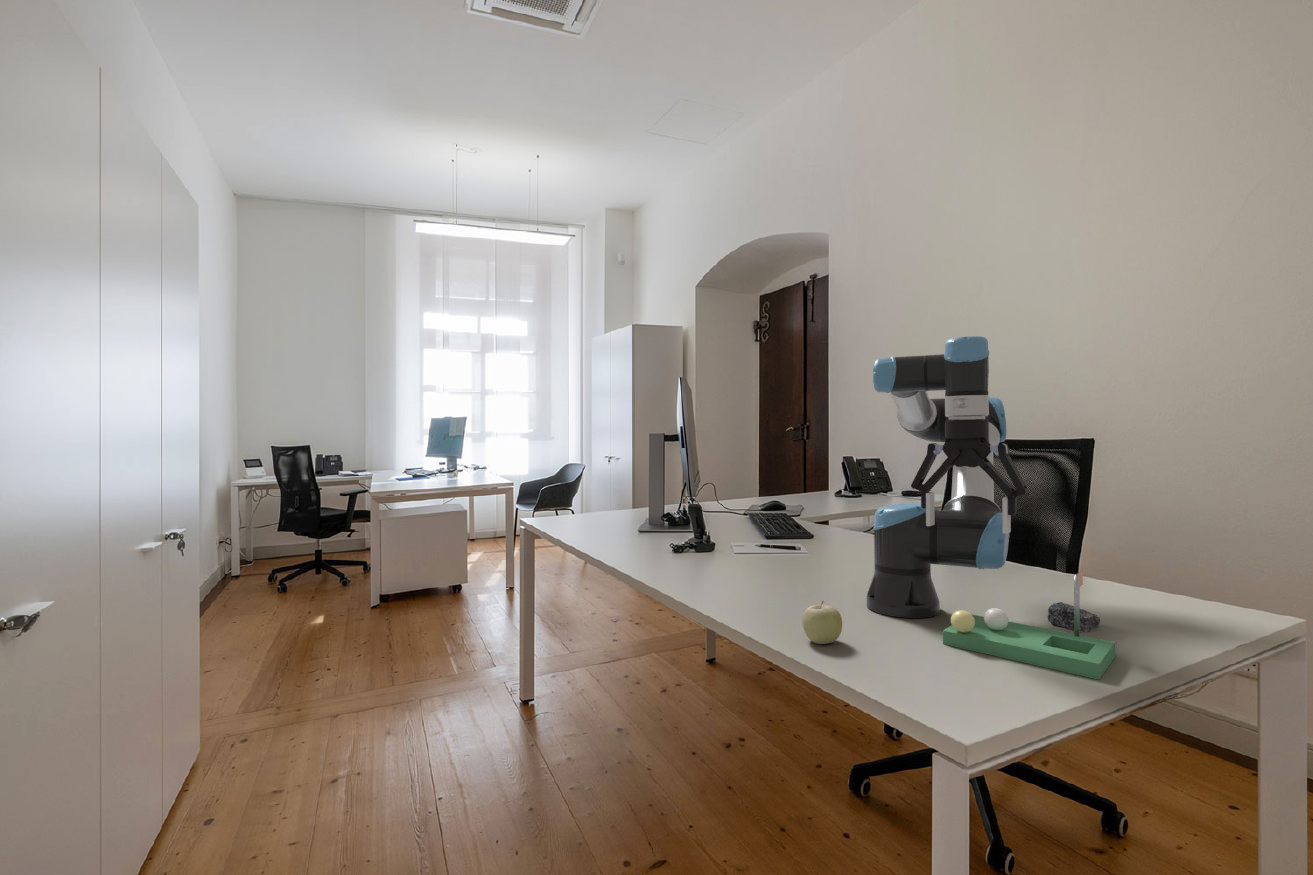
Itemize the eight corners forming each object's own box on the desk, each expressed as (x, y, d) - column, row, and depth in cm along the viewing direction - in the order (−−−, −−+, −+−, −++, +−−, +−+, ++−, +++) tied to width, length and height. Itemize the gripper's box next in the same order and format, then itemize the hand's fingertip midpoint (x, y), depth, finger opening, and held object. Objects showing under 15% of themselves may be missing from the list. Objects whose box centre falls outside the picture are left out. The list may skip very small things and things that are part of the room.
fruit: (849, 647, 115) (849, 603, 114) (812, 650, 113) (811, 606, 113) (831, 633, 122) (831, 593, 122) (795, 636, 121) (795, 595, 121)
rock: (1108, 625, 126) (1108, 604, 126) (1084, 634, 121) (1084, 612, 121) (1067, 615, 132) (1067, 596, 132) (1043, 624, 127) (1043, 603, 127)
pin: (1073, 635, 112) (1073, 574, 112) (1079, 630, 115) (1079, 570, 115) (1079, 636, 111) (1079, 575, 111) (1084, 631, 114) (1084, 571, 114)
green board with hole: (942, 643, 116) (942, 630, 116) (969, 626, 125) (969, 613, 125) (1099, 679, 99) (1099, 663, 99) (1115, 656, 108) (1115, 641, 108)
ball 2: (980, 629, 116) (980, 608, 115) (988, 625, 118) (987, 604, 118) (1004, 634, 113) (1004, 612, 113) (1011, 629, 116) (1011, 608, 115)
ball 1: (947, 632, 114) (947, 610, 114) (955, 627, 117) (955, 606, 117) (970, 637, 112) (970, 615, 112) (978, 631, 114) (978, 610, 114)
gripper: (893, 419, 125) (894, 524, 125) (1037, 417, 108) (1037, 538, 108) (907, 419, 130) (908, 520, 131) (1046, 417, 114) (1046, 532, 114)
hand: (967, 528), depth 120 cm, fingers open, 13 cm apart
